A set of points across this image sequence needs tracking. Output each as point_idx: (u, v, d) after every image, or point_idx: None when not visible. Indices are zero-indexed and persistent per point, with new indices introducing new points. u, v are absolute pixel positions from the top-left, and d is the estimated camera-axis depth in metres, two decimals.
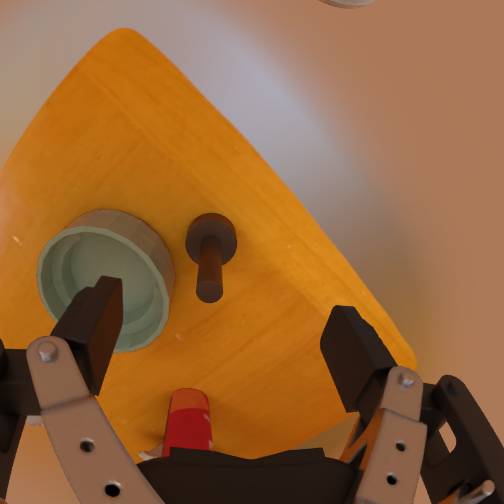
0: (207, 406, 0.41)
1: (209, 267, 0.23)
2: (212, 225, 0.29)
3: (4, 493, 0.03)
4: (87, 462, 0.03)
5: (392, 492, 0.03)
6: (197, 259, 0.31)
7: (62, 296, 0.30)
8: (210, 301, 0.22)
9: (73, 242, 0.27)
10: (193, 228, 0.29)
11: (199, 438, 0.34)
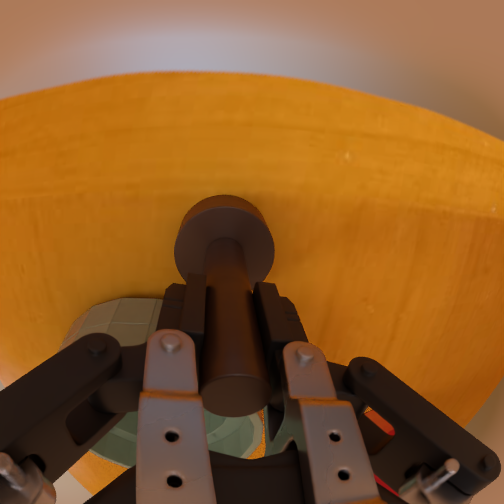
0: None
1: (208, 332, 0.09)
2: (197, 227, 0.15)
3: (57, 476, 0.04)
4: (164, 449, 0.04)
5: (351, 487, 0.04)
6: None
7: (130, 438, 0.21)
8: (257, 408, 0.08)
9: None
10: (176, 255, 0.15)
11: None
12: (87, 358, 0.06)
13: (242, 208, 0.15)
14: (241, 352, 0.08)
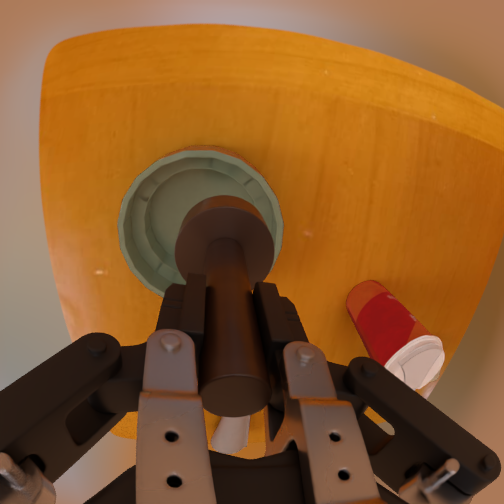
0: (385, 289, 0.36)
1: (207, 332, 0.09)
2: (197, 227, 0.15)
3: (57, 476, 0.04)
4: (164, 450, 0.04)
5: (351, 487, 0.04)
6: None
7: (172, 276, 0.31)
8: (257, 408, 0.08)
9: (143, 212, 0.28)
10: (177, 255, 0.15)
11: (399, 318, 0.29)
12: (87, 358, 0.06)
13: (242, 208, 0.15)
14: (241, 352, 0.08)
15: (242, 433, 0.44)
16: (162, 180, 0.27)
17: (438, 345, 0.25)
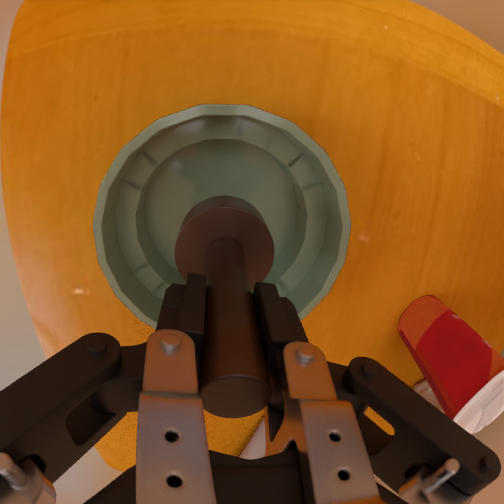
0: None
1: (207, 333, 0.09)
2: (197, 227, 0.15)
3: (57, 476, 0.04)
4: (164, 449, 0.04)
5: (351, 487, 0.04)
6: None
7: None
8: (257, 409, 0.08)
9: (134, 207, 0.18)
10: (176, 256, 0.15)
11: (474, 345, 0.19)
12: (87, 358, 0.06)
13: (242, 208, 0.15)
14: (241, 353, 0.08)
15: None
16: (163, 157, 0.17)
17: None
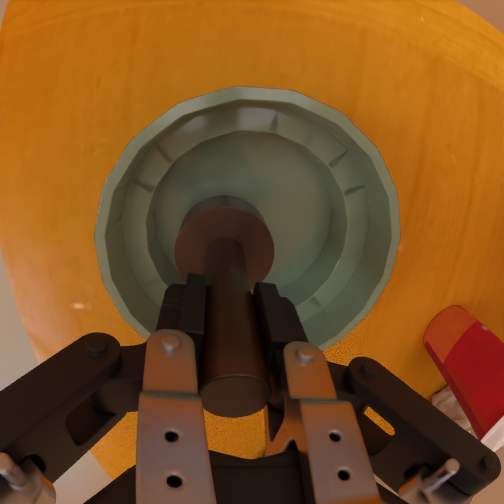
0: (473, 316, 0.24)
1: (207, 333, 0.09)
2: (197, 227, 0.15)
3: (57, 476, 0.04)
4: (164, 449, 0.04)
5: (351, 487, 0.04)
6: None
7: None
8: (257, 409, 0.08)
9: (145, 212, 0.15)
10: (176, 255, 0.15)
11: None
12: (87, 358, 0.06)
13: (242, 208, 0.15)
14: (240, 352, 0.08)
15: None
16: (181, 152, 0.14)
17: None
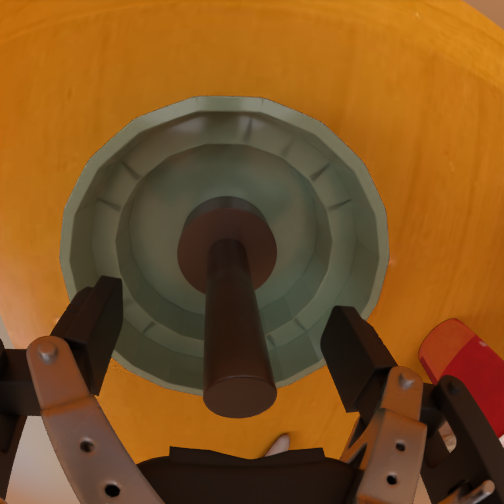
0: (471, 330, 0.22)
1: (212, 334, 0.09)
2: (200, 228, 0.15)
3: (4, 493, 0.03)
4: (87, 462, 0.03)
5: (392, 492, 0.03)
6: None
7: (172, 342, 0.17)
8: (262, 409, 0.08)
9: (114, 232, 0.14)
10: (179, 256, 0.15)
11: (503, 378, 0.15)
12: None
13: (245, 209, 0.15)
14: (246, 353, 0.08)
15: None
16: (147, 168, 0.13)
17: None
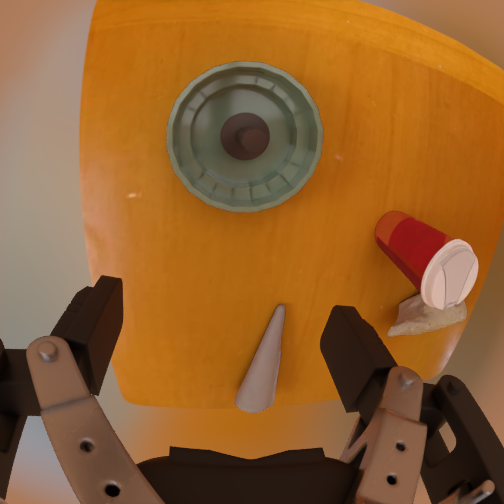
0: None
1: (244, 131, 0.23)
2: (233, 121, 0.29)
3: (4, 493, 0.03)
4: (87, 462, 0.03)
5: (392, 492, 0.03)
6: (246, 156, 0.31)
7: (212, 187, 0.31)
8: (263, 148, 0.22)
9: (190, 122, 0.28)
10: (221, 135, 0.30)
11: (431, 231, 0.30)
12: None
13: (254, 114, 0.29)
14: None
15: (270, 386, 0.44)
16: (210, 93, 0.27)
17: (472, 251, 0.25)
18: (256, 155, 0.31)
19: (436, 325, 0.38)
